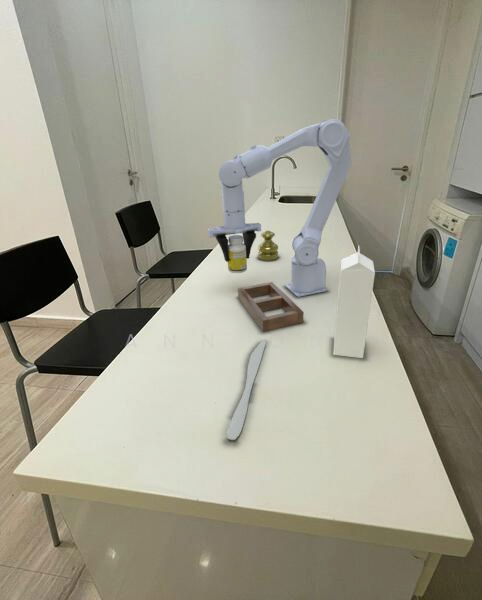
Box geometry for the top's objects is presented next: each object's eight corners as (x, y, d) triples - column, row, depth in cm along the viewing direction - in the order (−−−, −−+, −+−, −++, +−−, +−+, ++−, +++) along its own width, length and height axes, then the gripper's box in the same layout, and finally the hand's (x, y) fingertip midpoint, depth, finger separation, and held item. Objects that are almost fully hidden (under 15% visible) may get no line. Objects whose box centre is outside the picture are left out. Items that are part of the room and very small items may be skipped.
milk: (333, 355, 68) (341, 254, 58) (334, 339, 74) (341, 243, 64) (363, 358, 67) (377, 255, 57) (362, 342, 72) (375, 244, 62)
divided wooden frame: (272, 291, 97) (272, 281, 95) (303, 322, 80) (303, 311, 79) (238, 297, 94) (237, 288, 92) (263, 331, 77) (262, 320, 76)
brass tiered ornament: (281, 256, 124) (281, 229, 119) (271, 262, 118) (271, 235, 114) (264, 253, 127) (264, 227, 123) (254, 259, 122) (253, 232, 117)
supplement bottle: (227, 267, 97) (225, 234, 92) (246, 266, 97) (245, 233, 93) (228, 274, 92) (226, 240, 88) (247, 273, 92) (246, 239, 88)
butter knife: (219, 436, 50) (238, 438, 50) (256, 340, 74) (269, 340, 73) (219, 439, 50) (238, 441, 50) (256, 342, 74) (269, 342, 73)
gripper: (210, 216, 81) (215, 267, 88) (264, 210, 86) (265, 259, 92) (204, 210, 87) (209, 259, 94) (255, 205, 92) (257, 252, 98)
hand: (236, 259), depth 93 cm, fingers closed on supplement bottle, 5 cm apart
